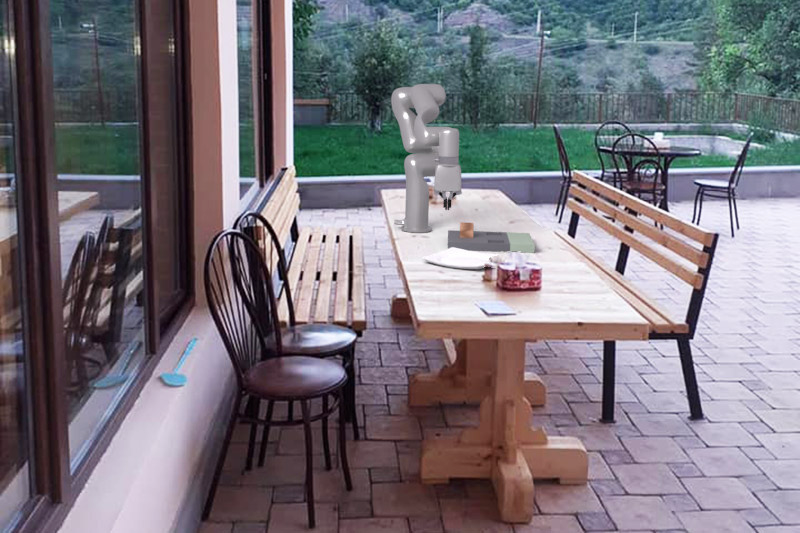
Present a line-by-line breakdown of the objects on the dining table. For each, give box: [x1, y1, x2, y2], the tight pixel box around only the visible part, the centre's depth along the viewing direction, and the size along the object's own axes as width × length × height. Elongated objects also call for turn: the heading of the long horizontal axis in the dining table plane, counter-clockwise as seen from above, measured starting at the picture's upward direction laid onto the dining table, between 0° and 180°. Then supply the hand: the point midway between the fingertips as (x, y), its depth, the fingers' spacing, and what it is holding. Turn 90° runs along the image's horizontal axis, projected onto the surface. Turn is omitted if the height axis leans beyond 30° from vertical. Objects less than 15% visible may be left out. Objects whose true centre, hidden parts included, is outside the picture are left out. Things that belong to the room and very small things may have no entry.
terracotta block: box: [459, 221, 474, 238], centre depth 347 cm, size 5×5×5 cm
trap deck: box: [447, 229, 536, 254], centre depth 347 cm, size 32×24×3 cm
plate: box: [421, 247, 501, 270], centre depth 316 cm, size 24×24×3 cm
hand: (447, 209), depth 345 cm, fingers closed
